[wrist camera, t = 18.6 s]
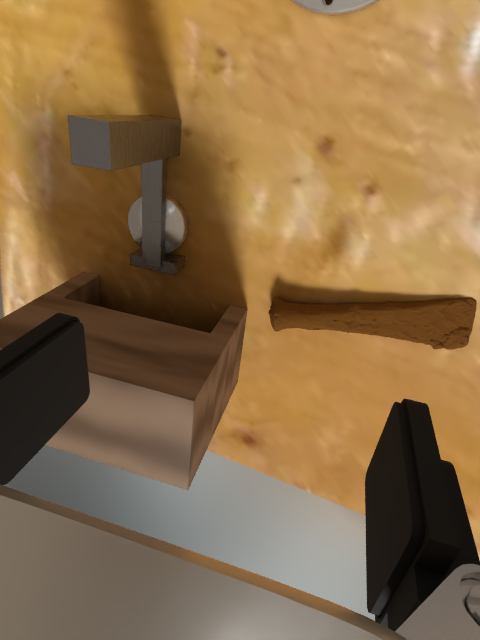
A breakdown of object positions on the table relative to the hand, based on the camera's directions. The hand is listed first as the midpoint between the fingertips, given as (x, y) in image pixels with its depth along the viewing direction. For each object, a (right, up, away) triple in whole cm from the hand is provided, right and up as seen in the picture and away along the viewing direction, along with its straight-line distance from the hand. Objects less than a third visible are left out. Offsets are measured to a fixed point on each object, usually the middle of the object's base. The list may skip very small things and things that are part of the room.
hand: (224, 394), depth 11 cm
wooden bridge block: (-9, +1, +35) cm, 36 cm away
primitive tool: (+14, +3, +28) cm, 31 cm away
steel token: (-8, +12, +29) cm, 33 cm away
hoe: (-7, +15, +28) cm, 32 cm away
